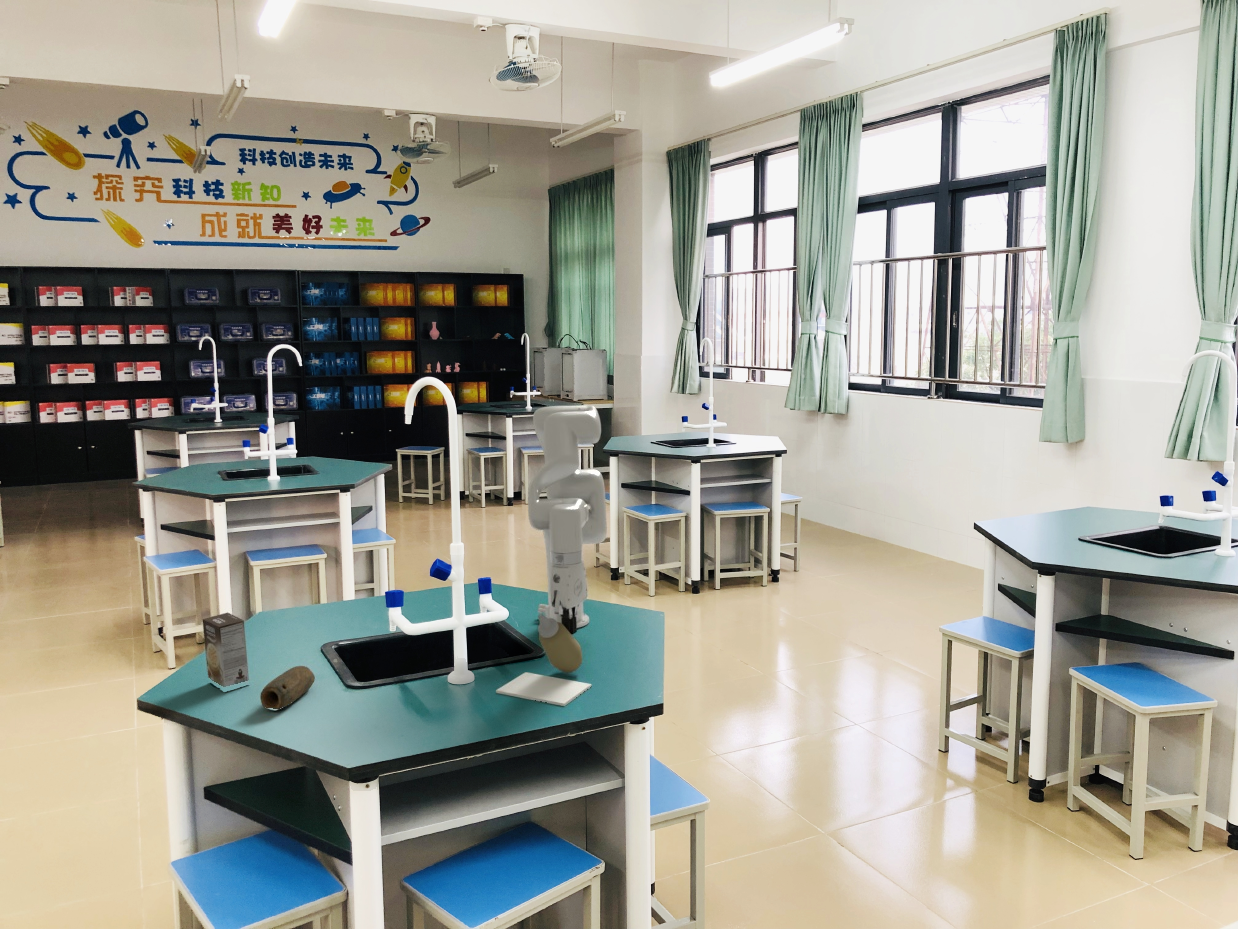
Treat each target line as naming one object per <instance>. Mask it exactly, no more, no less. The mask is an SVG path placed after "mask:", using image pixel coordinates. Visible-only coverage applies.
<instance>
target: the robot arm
mask: <svg viewBox="0 0 1238 929" xmlns="http://www.w3.org/2000/svg"><path fill="white" fill-rule="evenodd" d="M532 422H533V428H534V431H535V434H536V437H537V440H538V441H539V443H540V446H541V448H542V452H543V456H544V464H543V466H542V467H541V468H540V469H539V470H538V471H537V472H536V473H535V474H534V476H533V478H532V479H531V482H530V484H529V487H528V491H527V508H528V510H527V511H528V521H529V523H530V524H529V525H530V526H531V527H532V529H534V530H536V531H542V533H543V535H542V536H543V540H544V546H545V554H546V570H547V571H546V572H547V577H546V578H547V598H548V599H547V601H548V604H545V603H544V604H543V603H539V605H538V609H537V613H538V614H544V616H545V617H546V618H547V619H548V618H553V619H555V620H556V622H560V623H561V624H563V625H564V626H565V628H566V629H567V630H568V631H569V632H570V634H571V635H572V636H573V635H575V634H576V633H578V629H579V628H581V627H582V628H583V627H584V626H587V625H588V624H589V623H590V617H589V615H587V614H586V613H584V602H585V601H586V600H587V599H588V596H589V594H588V580H587V571H586V566H585V562H584V557H583V556H584V555H583V552H584V551H583V545H595V544H601V543H602V542H604V541H605V540H606V538H607V528H608V527H607V510H606V509H607V508H606V506H607V505H606V489H605V481H604V478H603V475H602V473H601V471H598V470H597V469H594V468H593V469H592V468H589V469H588V468H587V469H586V468H585V469H579V466H580V457H579V445H589V444H590V445H591V444H596V443H598V442H599V440H601V434H602V423H601V418H600V415H599V411H598V409H597V408H596V407H595V406H594V405H591V404H589V405H588V404H587V405H585V404H584V405H582V404H581V405H580V404H579V405H554V406H553V405H551V406H549V405H548V406H544V407H543V406H542V407H540V408H537V409H536V410H535V411H534V413H533V415H532ZM544 490H545V492H546V497H547V498H540V495H541V493H542V492H543V491H544Z"/></svg>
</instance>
